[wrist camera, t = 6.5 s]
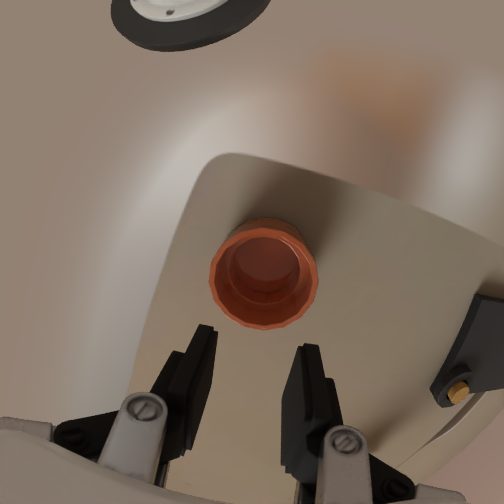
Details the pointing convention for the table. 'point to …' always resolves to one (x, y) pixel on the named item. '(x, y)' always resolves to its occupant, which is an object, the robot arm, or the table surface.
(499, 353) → the scale
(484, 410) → the table surface
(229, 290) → the flower pot
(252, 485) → the table surface
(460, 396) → the button
